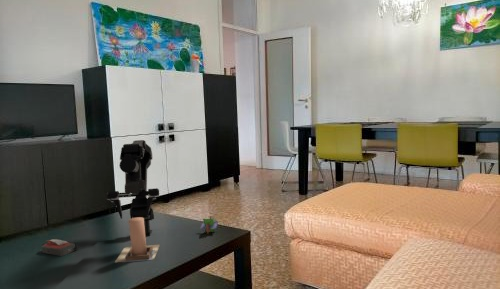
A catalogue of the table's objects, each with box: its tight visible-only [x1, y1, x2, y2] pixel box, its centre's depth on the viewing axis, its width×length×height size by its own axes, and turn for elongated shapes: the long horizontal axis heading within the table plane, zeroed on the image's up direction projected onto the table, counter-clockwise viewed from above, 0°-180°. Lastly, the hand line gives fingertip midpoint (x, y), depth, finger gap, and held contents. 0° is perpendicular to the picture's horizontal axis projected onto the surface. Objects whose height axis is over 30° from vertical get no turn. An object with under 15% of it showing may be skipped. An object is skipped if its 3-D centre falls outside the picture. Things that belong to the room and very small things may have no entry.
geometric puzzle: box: [199, 216, 219, 235], centre depth 155 cm, size 7×7×8 cm
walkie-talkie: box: [41, 238, 79, 257], centre depth 145 cm, size 9×4×20 cm
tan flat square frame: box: [114, 244, 161, 263], centre depth 133 cm, size 15×13×1 cm
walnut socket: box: [125, 247, 153, 261], centre depth 131 cm, size 8×8×2 cm
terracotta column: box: [128, 217, 147, 256], centre depth 130 cm, size 5×5×13 cm
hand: (134, 217), depth 139 cm, fingers open, 9 cm apart
